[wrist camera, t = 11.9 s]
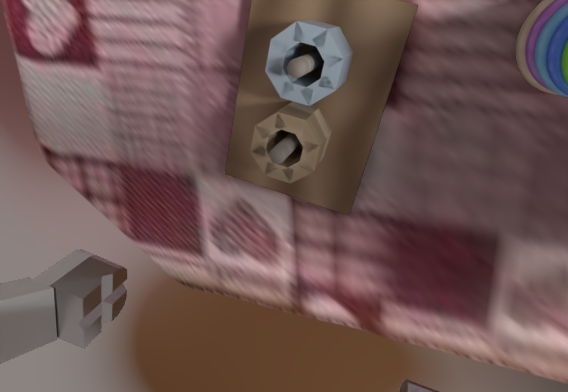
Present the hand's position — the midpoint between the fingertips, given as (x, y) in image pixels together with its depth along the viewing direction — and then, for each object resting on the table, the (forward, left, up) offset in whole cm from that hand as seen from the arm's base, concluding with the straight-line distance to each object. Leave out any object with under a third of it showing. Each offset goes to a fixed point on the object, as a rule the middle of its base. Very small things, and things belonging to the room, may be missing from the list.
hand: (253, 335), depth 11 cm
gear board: (+6, +1, -31) cm, 32 cm away
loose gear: (+6, -3, -30) cm, 30 cm away
